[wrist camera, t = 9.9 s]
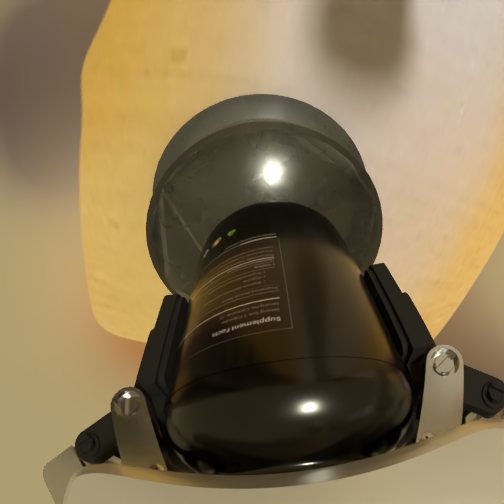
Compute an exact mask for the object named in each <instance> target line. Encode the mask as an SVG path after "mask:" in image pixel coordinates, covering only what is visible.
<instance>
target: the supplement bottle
mask: <svg viewBox="0 0 504 504" xmlns="http://www.w3.org/2000/svg"><path fill="white" fill-rule="evenodd" d="M414 402H415V400H414V393H413V389H412V386H411V383H410V380H409V376H408V374H407V371H406V369H405V366H404V364H403V361H402V359H401V356H400V354H399V352H398V349H397V347H396V344H395V342H394V340H393V338H392V335H391V333H390V331H389V329H388V326H387V324H386V322H385V320H384V318H383V315H382V313H381V311H380V309H379V307H378V305H377V303H376V301H375V299H374V297H373V295H372V292H371V290H370V288H369V286H368V284H367V282H366V280H365V279H364V277H363V275H362V273H361V271H360V269H359V267H358V265H357V263H356V261H355V259H354V258H353V256H352V254H351V252H350V250H349V248H348V246H347V245H346V243H345V242H344V240H343V238H342V236H341V235H340V233H339V232H338V230H337V229H336V228H335V226H334V225H333V224H332V223H331V222H330V221H329V220H328V219H327V218H326V217H324V216H323V215H322V214H320V213H319V212H317V211H315V210H314V209H311V208H309V207H307V206H304V205H302V204H298V203H294V202H288V201H265V202H259V203H255V204H251V205H249V206H246V207H243V208H241V209H239V210H237V211H235V212H234V213H232V214H230V215H229V216H228V217H226V218H225V219H224V220H222V221H221V222H220V223H219V224H218V225H217V226H216V227H215V229H214V230H213V231H212V232H211V234H210V235H209V237H208V239H207V241H206V243H205V245H204V247H203V250H202V253H201V256H200V260H199V263H198V267H197V270H196V274H195V278H194V282H193V286H192V290H191V294H190V298H189V302H188V306H187V310H186V315H185V319H184V323H183V328H182V332H181V336H180V341H179V345H178V350H177V354H176V359H175V364H174V369H173V374H172V378H171V383H170V389H169V394H168V399H167V405H166V413H165V421H164V425H165V432H166V436H167V439H168V441H169V443H170V445H171V448H172V449H173V451H174V453H175V454H176V455H177V456H178V458H179V459H180V460H181V461H182V462H183V463H184V464H186V465H187V466H188V467H189V468H191V469H192V470H194V471H195V472H196V473H198V474H206V475H263V474H278V473H289V472H298V471H306V470H313V469H319V468H325V467H330V466H336V465H341V464H345V463H350V462H354V461H358V460H363V459H366V458H370V457H374V456H377V455H381V454H384V453H388V452H390V451H391V450H392V449H393V448H394V447H395V446H396V445H397V444H398V443H399V441H400V440H401V439H402V438H403V436H404V435H405V433H406V431H407V429H408V427H409V425H410V422H411V420H412V416H413V411H414Z"/></svg>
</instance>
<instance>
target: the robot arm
mask: <svg viewBox="0 0 504 504" xmlns="http://www.w3.org/2000/svg"><path fill="white" fill-rule="evenodd" d="M364 279H365V280H366V282H367V284H368V286H369V288H370V290H371V292H372V295H373V297H374V299H375V301H376V303H377V305H378V307H379V309H380V311H381V313H382V315H383V318H384V320H385V322H386V324H387V326H388V329H389V331H390V333H391V335H392V338H393V340H394V342H395V344H396V347H397V349H398V352H399V354H400V356H401V359H402V361H403V364H404V366H405V369H406V371H407V374H408V376H409V380H410V383H411V386H412V389H413V393H414V400H415V402H414V411H413V416H412V420H411V422H410V425H409V427H408V429H407V431H406V433H405V435H404V436H403V438H402V439H401V440H400V441H399V443H398V444H397V445H396V446H395V447H394V448H393V449H392V451H391V452H388V453H384V454H381V455H377V456H374V457H370V458H366V459H363V460H358V461H354V462H350V463H345V464H341V465H336V466H330V467H325V468H319V469H313V470H306V471H298V472H289V473H278V474H263V475H206V474H198V473H196V472H195V471H194V470H192V469H191V468H189V467H188V466H187V465H186V464H184V463H183V462H182V461H181V460H180V459H179V458H178V456H177V455H176V454H175V453H174V451H173V449H172V448H171V445H170V443H169V441H168V439H167V436H166V432H165V425H164V421H165V413H166V405H167V399H168V394H169V389H170V383H171V378H172V374H173V369H174V364H175V359H176V354H177V350H178V345H179V341H180V336H181V332H182V328H183V323H184V319H185V315H186V310H187V306H188V302H187V300H186V298H185V297H181V295H180V294H175V295H166V296H165V297H164V299H163V302H162V305H161V308H160V312H159V315H158V318H157V321H156V324H155V328H154V329H152V330H151V332H150V334H149V337H148V340H147V344H146V347H145V350H144V354H143V357H142V361H141V364H140V368H139V371H138V375H137V379H136V383H135V386H134V387H126V388H123V389H121V390H119V391H118V392H117V393H116V394H115V396H114V397H113V398H112V401H111V412H110V413H108V414H107V415H105V416H104V417H102V418H101V419H100V420H98V421H97V422H95V423H94V424H93V425H91V426H90V427H88V428H87V429H85V430H84V431H83V432H81V433H80V434H79V435H78V437H77V439H76V442H75V447H73V446H70V447H69V448H67V449H66V450H65V451H63V452H62V453H61V454H59V455H58V456H57V457H55V458H54V459H53V460H51V461H50V462H49V463H47V464H46V466H45V467H44V470H43V477H44V480H45V483H46V485H47V487H48V489H49V491H50V493H51V495H52V497H53V499H54V501H55V503H56V504H504V383H503V382H502V381H501V380H499V379H498V378H495V377H493V376H490V375H488V374H485V373H483V372H481V371H478V370H476V369H473V368H471V367H468V366H466V365H463V359H462V356H461V354H460V353H459V352H458V351H457V350H456V349H455V348H453V347H452V346H449V345H439V346H436V345H435V343H434V341H433V339H432V337H431V335H430V333H429V331H428V329H427V327H426V325H425V323H424V321H423V320H422V318H421V316H420V314H419V312H418V310H417V309H416V307H415V305H414V303H413V302H412V300H411V298H410V296H409V295H408V294H407V293H405V292H404V293H402V292H401V290H400V289H399V287H398V285H397V283H396V282H395V280H394V278H393V277H392V275H391V273H390V272H389V270H388V268H387V267H386V265H385V264H384V263H380V264H374V265H370V266H369V269H368V270H365V272H364Z"/></svg>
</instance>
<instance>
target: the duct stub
mask: <svg viewBox="0 0 504 504" xmlns="http://www.w3.org/2000/svg"><path fill="white" fill-rule="evenodd" d="M265 201H288V202H294V203H298V204H302V205H304V206H307V207H309V208H311V209H314V210H315V211H317V212H319V213H320V214H322V215H323V216H324V217H326V218H327V219H328V220H329V221H330V222H331V223H332V224H333V225H334V226H335V228H336V229H337V230H338V232H339V233H340V235H341V236H342V238H343V240H344V242H345V243H346V245H347V246H348V248H349V250H350V252H351V254H352V256H353V258H354V259H355V261H356V263H357V265H358V267H359V269H360V271H361V273H362V275H363V277H364V272H365V270H368V269H369V266H370V265H373V263H374V261H375V259H376V256H377V253H378V250H379V247H380V243H381V236H382V211H381V205H380V201H379V197H378V194H377V191H376V188H375V186H374V184H373V182H372V180H371V178H370V176H369V175H368V173H367V172H366V170H365V166H364V164H363V161H362V158H361V156H360V153H359V151H358V150H357V148H356V146H355V144H354V142H353V141H352V140H351V138H350V137H349V136H348V134H347V133H346V132H345V130H344V129H343V128H342V127H341V126H340V125H339V124H337V123H336V122H335V121H334V120H333V119H332V118H331V117H329V116H328V115H326V114H325V113H324V112H322V111H321V110H319V109H317V108H315V107H313V106H311V105H309V104H307V103H305V102H302V101H299V100H296V99H293V98H289V97H284V96H278V95H268V94H254V95H245V96H239V97H235V98H231V99H227V100H224V101H222V102H220V103H217V104H215V105H212V106H210V107H208V108H207V109H205V110H203V111H202V112H200V113H198V114H197V115H195V116H194V117H193V118H192V119H190V120H189V121H188V122H187V123H186V124H184V125H183V126H182V127H181V128H180V130H179V131H178V132H177V133H176V134H175V135H174V136H173V138H172V139H171V141H170V142H169V144H168V145H167V147H166V148H165V150H164V152H163V154H162V156H161V158H160V161H159V163H158V166H157V170H156V173H155V178H154V184H153V196H152V198H151V201H150V205H149V209H148V213H147V222H146V237H147V245H148V250H149V254H150V257H151V260H152V263H153V265H154V268H155V269H156V271H157V273H158V275H159V277H160V279H161V280H162V281H163V283H164V284H165V286H166V287H167V288H168V289H169V290H170V292H171V293H172V294H173V295H175V294H180V295H181V297H185V298H186V300H187V302H189V298H190V294H191V290H192V286H193V282H194V278H195V274H196V270H197V267H198V263H199V260H200V256H201V253H202V250H203V247H204V245H205V243H206V241H207V239H208V237H209V235H210V234H211V232H212V231H213V230H214V229H215V227H216V226H217V225H218V224H219V223H220V222H221V221H222V220H224V219H225V218H226V217H228V216H229V215H230V214H232V213H234V212H235V211H237V210H239V209H241V208H243V207H246V206H249V205H251V204H255V203H259V202H265Z"/></svg>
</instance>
